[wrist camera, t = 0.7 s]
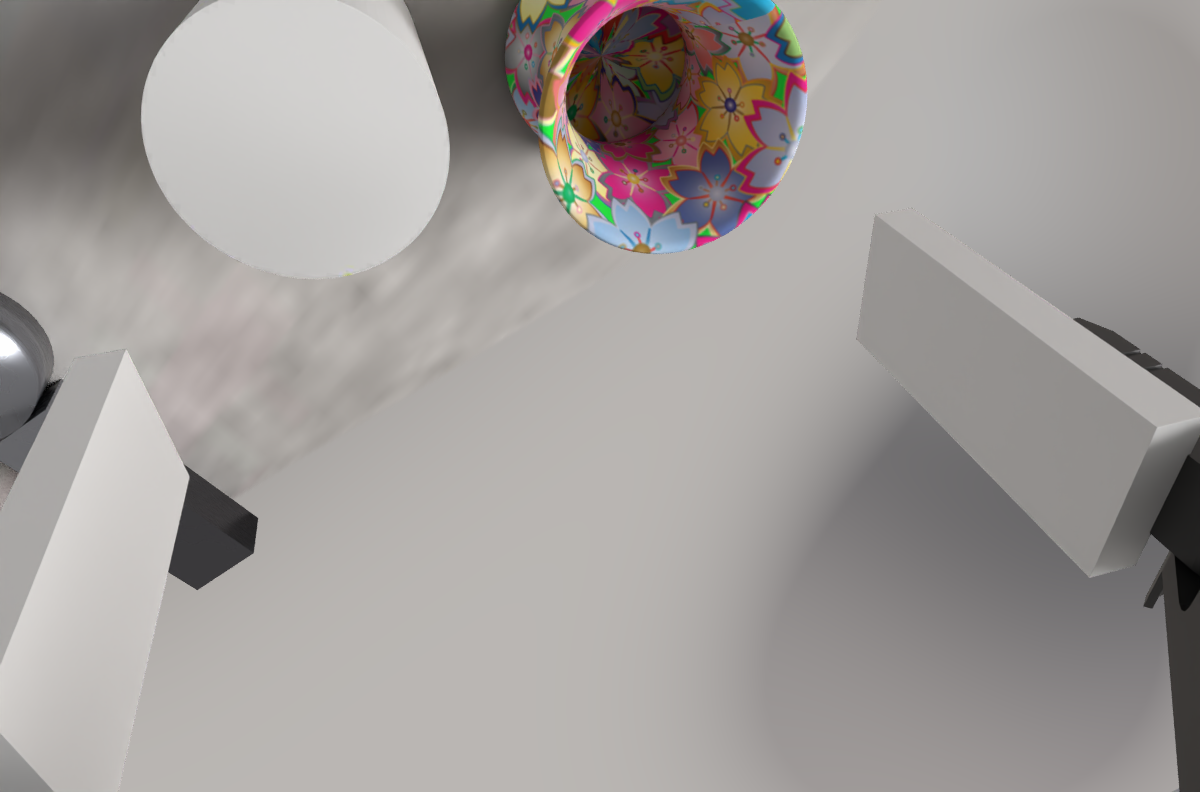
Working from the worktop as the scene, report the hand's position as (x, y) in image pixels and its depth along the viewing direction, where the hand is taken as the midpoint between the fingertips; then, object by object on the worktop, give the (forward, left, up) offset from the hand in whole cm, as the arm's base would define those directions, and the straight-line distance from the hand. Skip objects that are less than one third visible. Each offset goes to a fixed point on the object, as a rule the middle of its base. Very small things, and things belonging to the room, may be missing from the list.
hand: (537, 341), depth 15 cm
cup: (-2, -4, -24) cm, 24 cm away
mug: (+4, +7, -24) cm, 25 cm away
